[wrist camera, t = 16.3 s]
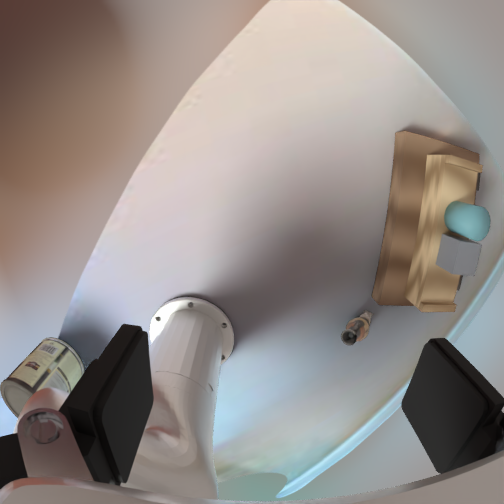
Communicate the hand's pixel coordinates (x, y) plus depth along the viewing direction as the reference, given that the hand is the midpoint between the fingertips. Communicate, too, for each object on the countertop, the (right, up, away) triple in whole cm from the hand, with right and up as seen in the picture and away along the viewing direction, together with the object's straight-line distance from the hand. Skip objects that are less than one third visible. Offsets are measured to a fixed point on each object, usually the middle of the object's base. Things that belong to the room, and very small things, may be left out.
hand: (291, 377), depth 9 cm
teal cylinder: (+25, +8, +24) cm, 35 cm away
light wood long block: (+24, +7, +29) cm, 38 cm away
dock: (+24, +8, +32) cm, 41 cm away
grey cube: (+24, +4, +25) cm, 35 cm away
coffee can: (-36, -16, +37) cm, 54 cm away
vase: (+13, -6, +36) cm, 39 cm away
